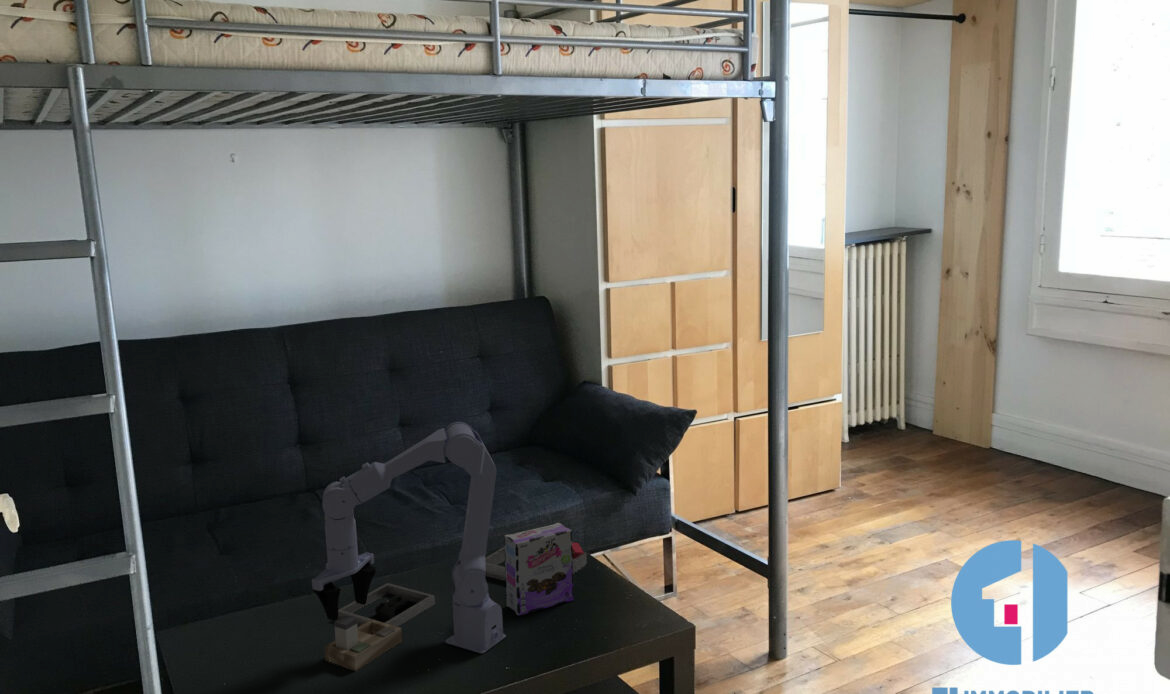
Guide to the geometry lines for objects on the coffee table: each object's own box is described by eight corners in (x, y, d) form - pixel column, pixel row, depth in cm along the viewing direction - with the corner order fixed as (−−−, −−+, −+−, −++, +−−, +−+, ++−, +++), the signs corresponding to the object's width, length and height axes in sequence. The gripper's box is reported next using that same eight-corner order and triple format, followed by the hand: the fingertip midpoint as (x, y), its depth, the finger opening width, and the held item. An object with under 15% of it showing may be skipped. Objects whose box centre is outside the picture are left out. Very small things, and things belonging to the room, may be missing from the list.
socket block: (402, 641, 192) (401, 626, 191) (355, 671, 181) (354, 655, 180) (372, 632, 196) (371, 617, 195) (325, 661, 185) (324, 645, 184)
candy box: (518, 617, 201) (515, 543, 198) (505, 606, 206) (502, 534, 203) (574, 600, 208) (572, 529, 205) (561, 591, 213) (559, 521, 210)
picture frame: (434, 604, 208) (434, 595, 208) (385, 634, 195) (384, 625, 194) (388, 591, 215) (387, 582, 214) (337, 619, 202) (336, 610, 201)
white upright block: (359, 656, 186) (356, 618, 185) (348, 663, 184) (345, 625, 182) (348, 653, 188) (345, 615, 186) (337, 659, 185) (334, 621, 184)
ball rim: (586, 564, 226) (586, 552, 226) (548, 591, 213) (547, 579, 212) (519, 549, 237) (518, 538, 236) (478, 574, 223) (477, 562, 222)
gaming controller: (393, 624, 198) (377, 600, 199) (381, 637, 200) (365, 613, 202) (424, 605, 206) (408, 583, 207) (412, 618, 208) (396, 596, 210)
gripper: (353, 528, 191) (358, 592, 193) (298, 554, 178) (304, 621, 181) (380, 534, 187) (384, 599, 189) (325, 561, 175) (330, 630, 177)
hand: (347, 610), depth 185 cm, fingers open, 7 cm apart
